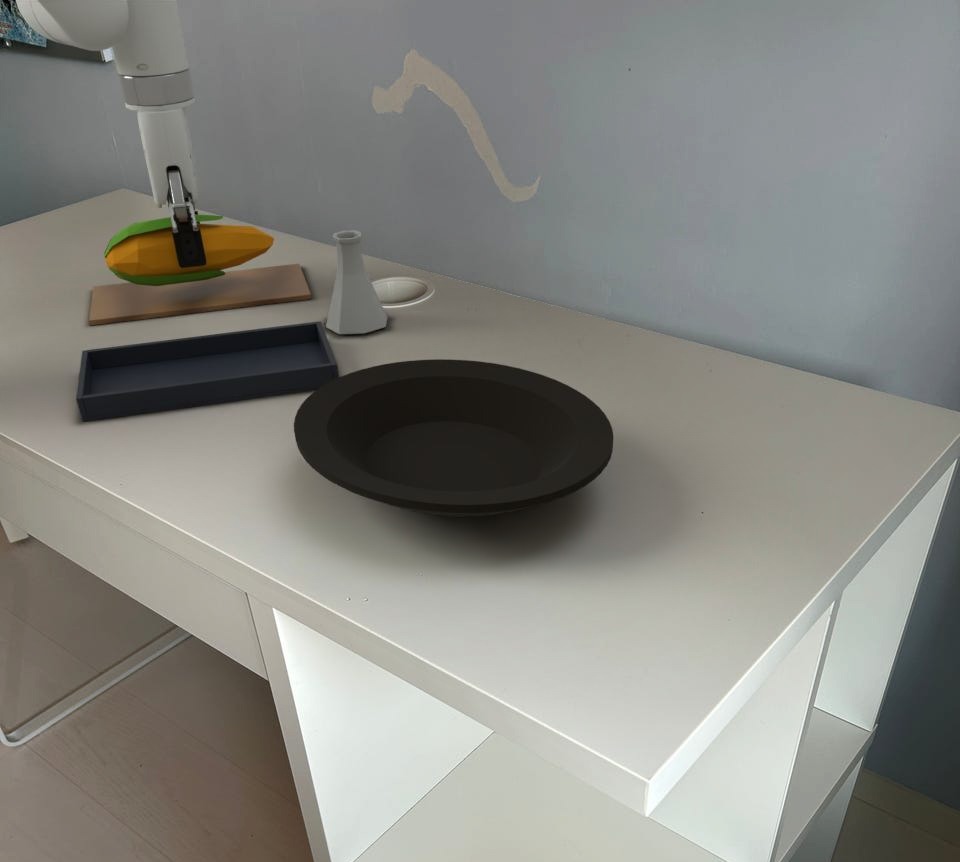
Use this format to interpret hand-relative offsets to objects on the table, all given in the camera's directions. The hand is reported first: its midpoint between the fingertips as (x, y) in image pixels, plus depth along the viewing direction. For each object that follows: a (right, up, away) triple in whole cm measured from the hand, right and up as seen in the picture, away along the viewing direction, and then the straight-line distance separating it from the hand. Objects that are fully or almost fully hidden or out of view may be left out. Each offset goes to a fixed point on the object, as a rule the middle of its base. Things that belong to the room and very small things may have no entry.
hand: (191, 254), depth 119 cm
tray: (+7, -19, -17) cm, 26 cm away
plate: (+33, -33, -34) cm, 58 cm away
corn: (0, -2, +2) cm, 3 cm away
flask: (+21, -10, -6) cm, 24 cm away
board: (0, -4, +3) cm, 5 cm away
